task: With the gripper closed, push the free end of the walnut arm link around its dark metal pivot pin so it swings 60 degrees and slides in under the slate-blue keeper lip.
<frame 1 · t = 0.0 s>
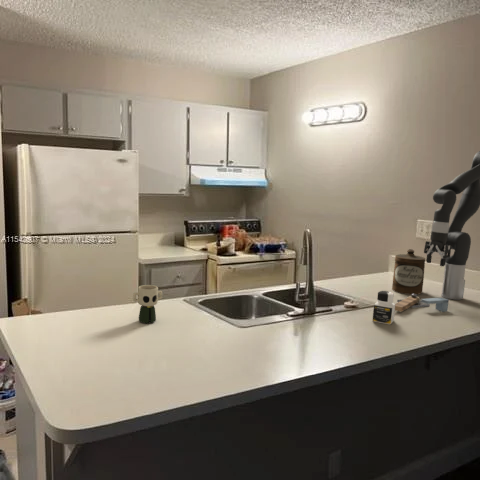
hand: (435, 264, 227), 17 cm above the countertop, tool pointing down, fingers open, 8 cm apart
character mug: (147, 322, 172), on the countertop
pivot base: (413, 304, 217), on the countertop
arm link: (406, 303, 209), point 2 cm above the countertop, hinge at -60.0°
wooden container: (406, 291, 244), on the countertop
keeper: (431, 310, 207), on the countertop
medicine bottle: (383, 321, 189), on the countertop
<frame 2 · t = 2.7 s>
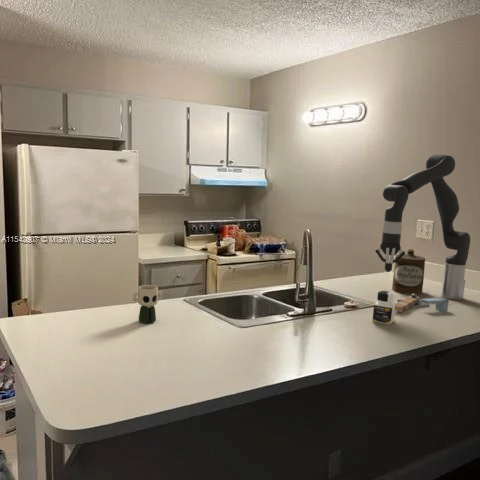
hand: (388, 271, 204), 17 cm above the countertop, tool pointing down, fingers closed
nothing on the countertop moved.
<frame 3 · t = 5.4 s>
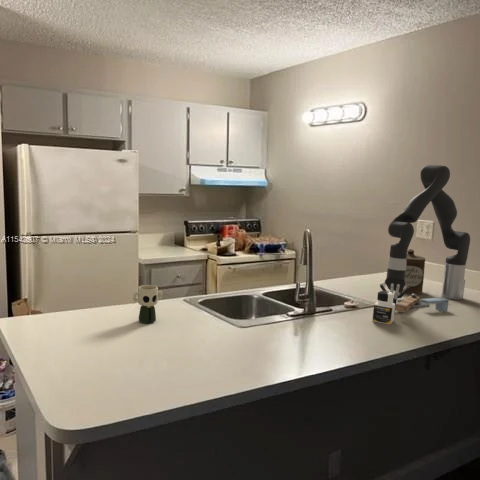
hand: (392, 306, 204), 2 cm above the countertop, tool pointing down, fingers closed
arm link: (407, 303, 209), point 2 cm above the countertop, hinge at -58.3°, touching gripper
everything else where it was.
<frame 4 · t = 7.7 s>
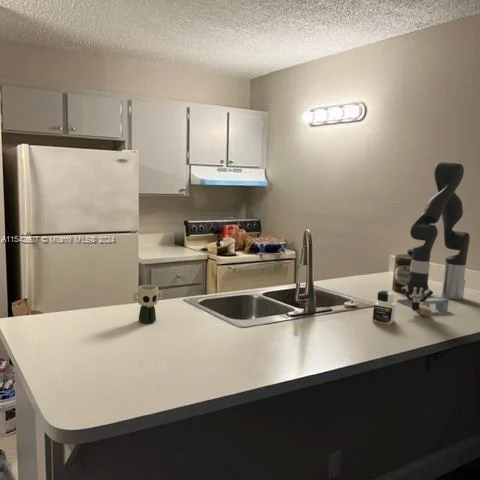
hand: (414, 310, 200), 2 cm above the countertop, tool pointing down, fingers closed
arm link: (418, 304, 207), point 2 cm above the countertop, hinge at -29.6°, touching gripper
everything else where it was.
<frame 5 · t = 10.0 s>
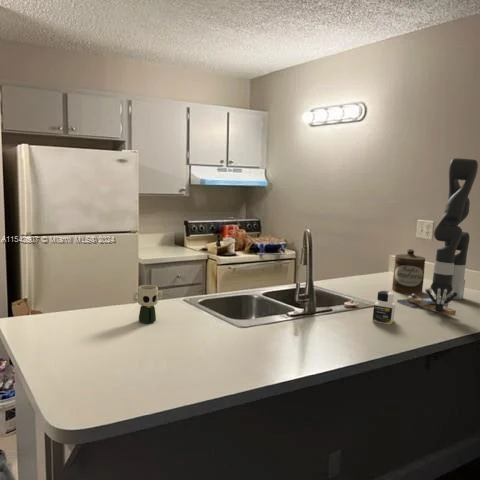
hand: (438, 312, 199), 2 cm above the countertop, tool pointing down, fingers closed
arm link: (429, 305, 208), point 2 cm above the countertop, hinge at 1.3°, touching gripper
everything else where it was.
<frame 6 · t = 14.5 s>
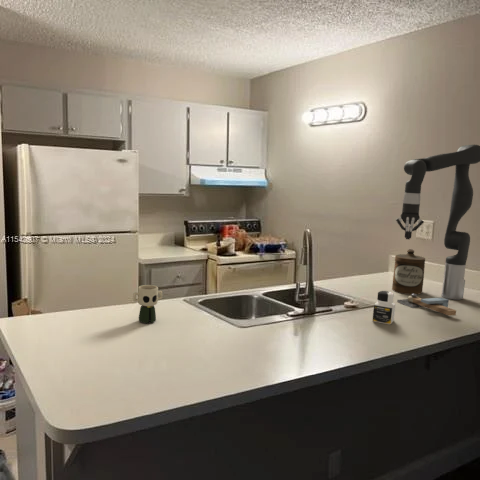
hand: (407, 239, 223), 29 cm above the countertop, tool pointing down, fingers closed
arm link: (430, 305, 208), point 2 cm above the countertop, hinge at 1.8°
everything else where it was.
at the end: arm link at +2° (first picture: -60°); medicine bottle moved 0.2 cm from its start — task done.
